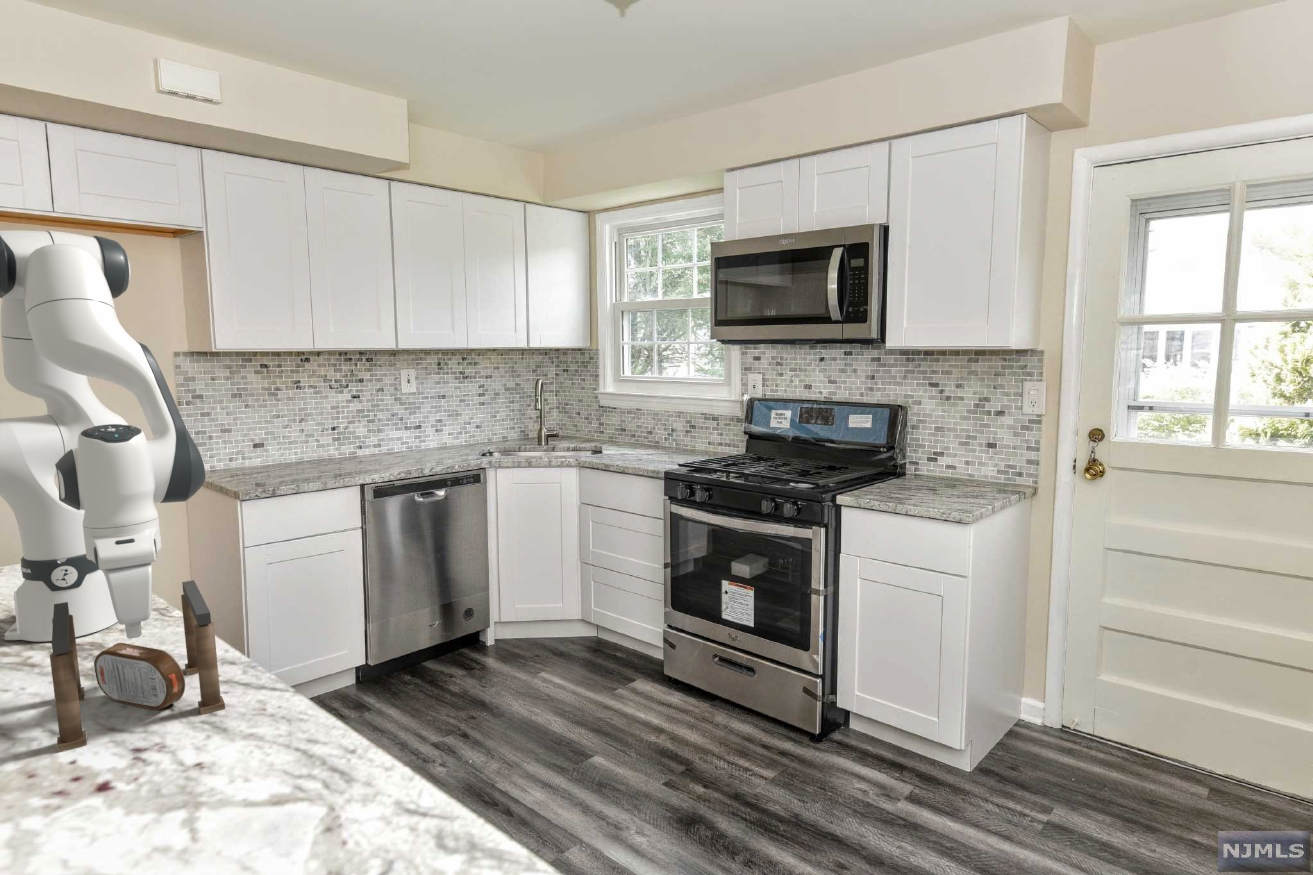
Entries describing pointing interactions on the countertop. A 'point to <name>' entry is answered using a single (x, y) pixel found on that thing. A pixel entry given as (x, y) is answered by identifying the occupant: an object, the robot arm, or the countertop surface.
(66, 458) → the robot arm
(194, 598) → the dark grey beam
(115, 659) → the tin
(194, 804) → the countertop surface
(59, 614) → the grey bar
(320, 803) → the countertop surface
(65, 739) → the wooden stanchion pair
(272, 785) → the countertop surface
